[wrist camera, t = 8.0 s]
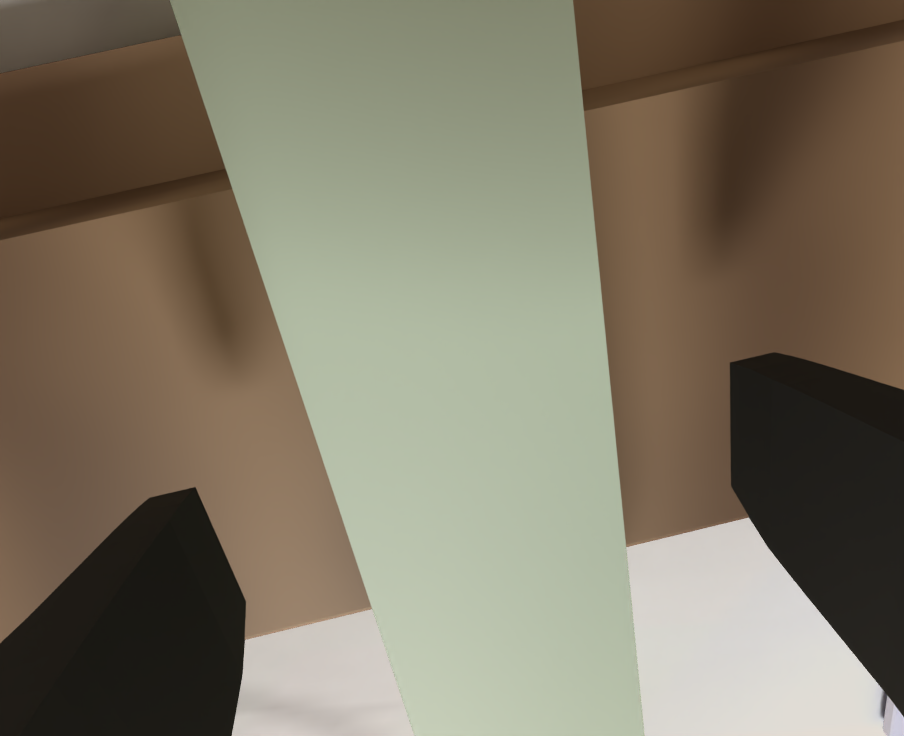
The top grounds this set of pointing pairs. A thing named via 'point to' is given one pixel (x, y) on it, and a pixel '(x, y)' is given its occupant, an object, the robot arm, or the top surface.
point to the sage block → (443, 334)
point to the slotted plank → (259, 339)
